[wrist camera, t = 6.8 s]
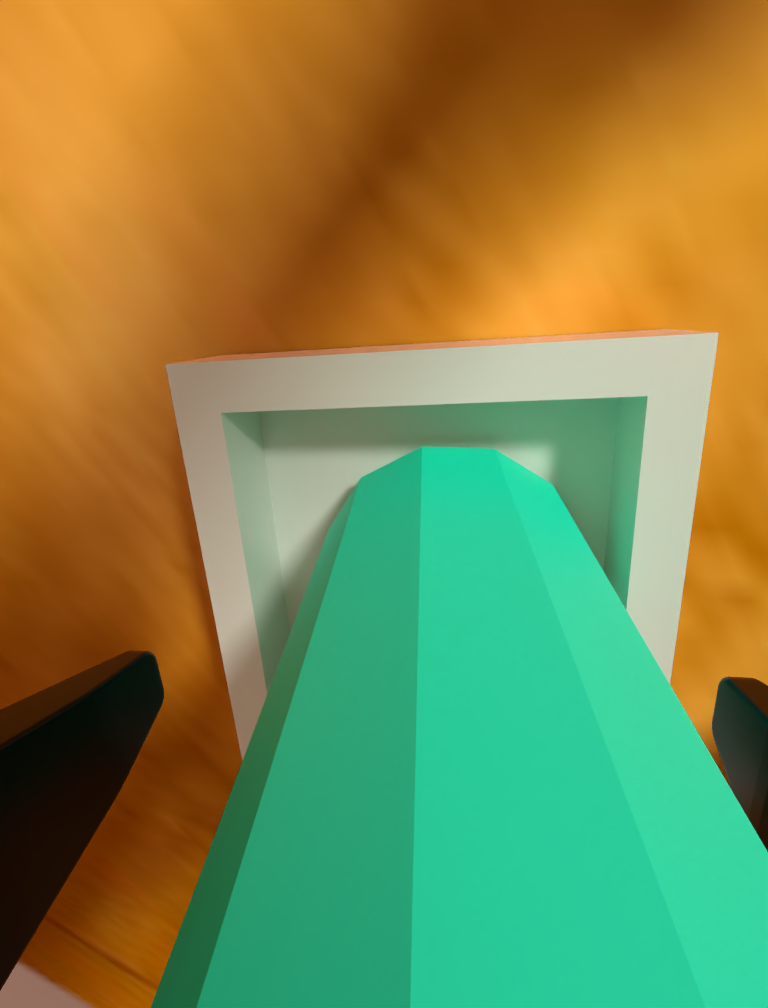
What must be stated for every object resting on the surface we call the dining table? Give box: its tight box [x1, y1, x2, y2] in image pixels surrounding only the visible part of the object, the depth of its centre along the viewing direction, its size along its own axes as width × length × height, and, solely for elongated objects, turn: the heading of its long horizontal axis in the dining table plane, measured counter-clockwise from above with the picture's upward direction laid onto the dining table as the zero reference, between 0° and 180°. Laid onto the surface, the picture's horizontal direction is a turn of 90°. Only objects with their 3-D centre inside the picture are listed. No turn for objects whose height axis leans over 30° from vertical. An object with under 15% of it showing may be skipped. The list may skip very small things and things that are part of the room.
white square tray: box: [165, 329, 719, 760], centre depth 12 cm, size 10×11×3 cm
